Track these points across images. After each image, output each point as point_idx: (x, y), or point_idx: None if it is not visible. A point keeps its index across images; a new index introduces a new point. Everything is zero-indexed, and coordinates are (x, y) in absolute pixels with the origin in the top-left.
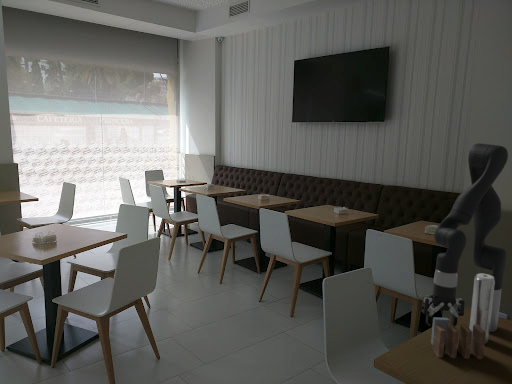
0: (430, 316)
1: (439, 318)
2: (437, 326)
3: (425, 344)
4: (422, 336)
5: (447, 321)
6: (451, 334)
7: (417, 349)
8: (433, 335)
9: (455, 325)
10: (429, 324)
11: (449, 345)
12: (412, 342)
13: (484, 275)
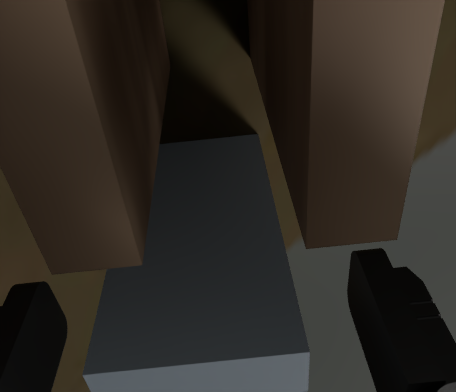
0: (452, 383)
1: (225, 382)
2: (414, 126)
3: None
4: (290, 242)
5: (111, 347)
6: (112, 25)
7: (439, 33)
8: (270, 190)
9: (4, 306)
10: (389, 261)
11: (145, 4)
12: (418, 148)
13: None
